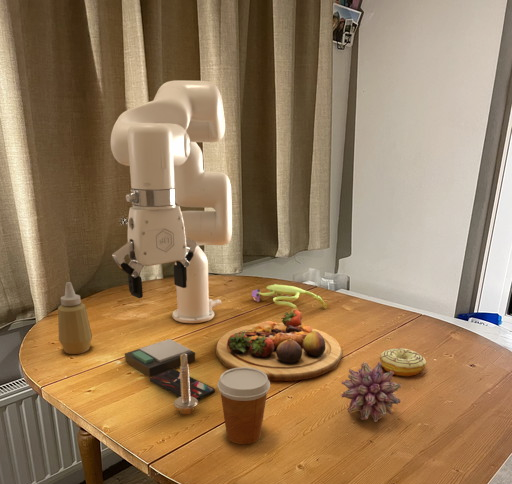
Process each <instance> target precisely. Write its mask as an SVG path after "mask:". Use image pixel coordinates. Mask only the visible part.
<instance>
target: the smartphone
mask: <svg viewBox="0 0 512 484" xmlns="http://www.w3.org/2000/svg"><path fill="white" fill-rule="evenodd" d="M180 372H181V371H180V370H177V369H176V368H175V369H170V370H168V371H165V372H163V373H160V374H158V375H156V376H153V377H149V382H150V383H152V384H154V385H156V386H158V387H159V388H162V389H164V390H165V391H167V392H170V393H171V394H173V395H175V396H177V397H178V398H179V397H181V396H182V395H181V393H182V392H181V384H180V383H181V381H180V380H181V379H180V377H181V376H180V375H181V374H180ZM189 378H190V380H189V381H190V385H189V386H190V396H192V397H194V398H196V399H197V400H198V401H200V400H202V399H204V398H206V397H207V396H210V395H211V394H214V393H215V392H216V391H215V389H216V388H214V387H213V386H210V385H208V384H206V383H204V382H202V381H199V380H197V379H195V378H194V377H191V376H190V377H189Z"/></svg>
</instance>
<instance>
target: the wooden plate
mask: <svg viewBox="0 0 512 484" xmlns="http://www.w3.org/2000/svg"><path fill="white" fill-rule="evenodd" d="M280 319H281V322H275V321H272V320H265V321H262V322H259V323H253V324H248V325H247V324H246V325H244V326H240V327H237V328H234V329H231V330H229V331H228V332H226V333H225V334H223V335H222V336H221V337H220V338H219V339H218V340H217V342H216V345H215V354H216V356H217V358H218V360H219V361H220V362H221V363H222V365H224V366H225V367H227V368H228V369H229V370H230V369H233V368H239V367H248V368H255V369H258V370H261V371H262V372H264V373H265V374H266V375H267V377H268V380H269V381H277V382H278V381H279V382H281V381H283V382H284V381H286V382H287V381H288V382H289V381H301V380H306V379H312V378H315V377H318V376H319V377H320V376H321V375H324V374H326V373H328V372H329V371H332V370H333V369H334V368H336V366H337V365H338V364H339V363H340V361H341V360H342V357H343V350H342V347H341V345H340V343H339V342H338V340H336V338H334V337H333V336H332V335H330V334H328V333H326V332H324V331H322V330H320V329H317V328H313V327H312V326H310V325H307V324H302V320H303V316H302V314H301V312H300V311H299V310H298V309H293V310H289V312H285V313H284V315H283V317H280Z"/></svg>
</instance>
